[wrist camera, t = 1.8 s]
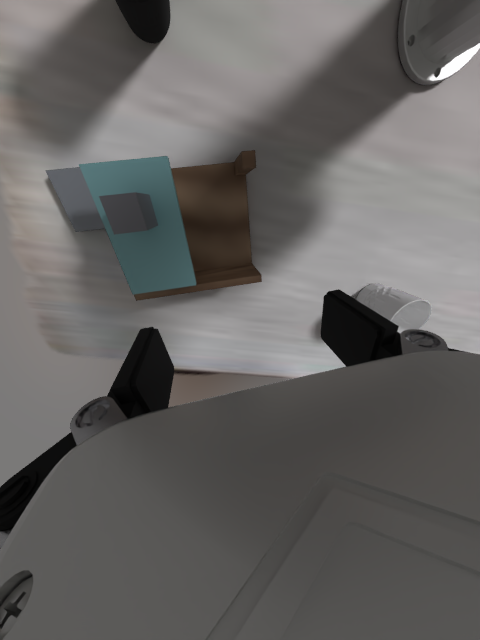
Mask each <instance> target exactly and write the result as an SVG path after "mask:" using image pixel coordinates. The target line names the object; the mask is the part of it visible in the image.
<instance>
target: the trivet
mask: <svg viewBox="0 0 480 640" xmlns="http://www.w3.org/2000/svg"><path fill="white" fill-rule="evenodd" d="M46 173H47V175H48V177H49V179H50V181H51V183H52V185H53V187H54V189H55V191H56V193H57V195H58V197H59V199H60V201H61V203H62V205H63V207H64V209H65V211H66V213H67V215H68V217H69V219H70V221H71V223H72V225H73V227H74V229H75V232H79V231H87V230H96V229H104V228H105V226H104V224H103V222H102V219H101V217H100V214H99V212H98V210H97V207H96V205H95V202H94V200H93V198H92V195H91V193H90V190H89V188H88V186H87V183H86V181H85V178H84V176H83V174H82V171H81V169H80V167H77V168H66V169H56V170H46Z"/></svg>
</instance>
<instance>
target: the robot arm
mask: <svg viewBox="0 0 480 640" xmlns="http://www.w3.org/2000/svg"><path fill="white" fill-rule="evenodd" d="M479 48H480V0H403V1H402V7H401V12H400V17H399V27H398V49H399V54H400V60H401V63H402V65H403V68H404V70H405V72H406V73H407V75H408V76H409V78H411V79H412V80H413V81H414V82H416V83H418V84H421V85H432V84H436V83H439V82H441V81H443V80H445V79H447V78H449V77H451V76H452V75H453V74H455V73H456V72H458V71H459V70H460V69H461V68H463V67H464V66H465V65H466V64H467V63H468V62H469V61H470V60H471V58H472V57H473V56H474V55H475V54H476V53H477V51H478V50H479ZM398 327H399V326H398V325H396V324H394V323H393V322H391V321H390V320H388V319H386V318H385V317H383V316H381V315H380V314H378V313H377V312H375V311H373V310H372V309H370V308H368V307H367V306H365V305H364V304H362V303H360V302H359V301H357V300H355V299H354V298H352V297H351V296H349V295H347V294H346V293H344V292H342V291H341V290H334V291H329V292H327V295H325V296H324V303H323V314H322V325H321V338H322V339H323V341H324V342H325V343H326V344H327V345H328V346H329V347H330V349H331V350H332V351H333V352H334V353H335V354H336V355H337V356H338V358H339V359H340V360H341V361H342V362H343V363H344V364H345V365H346V366H347V367H343V368H338V369H334V370H329V371H325V372H320V373H316V374H311V375H307V376H303V377H298V378H294V379H289V380H285V381H281V382H276V383H272V384H268V385H263V386H259V387H255V388H250V389H246V390H242V391H237V392H233V393H229V394H225V395H221V396H216V397H212V398H207V399H203V400H199V401H195V402H190V403H186V404H182V405H178V406H174V407H169V408H168V404H169V398H170V393H171V386H172V381H173V375H174V366H173V364H172V361H171V359H170V357H169V354H168V352H167V350H166V347H165V345H164V342H163V340H162V338H161V335H160V333H159V331H158V329H154V328H153V327H149V328H144V329H141V330H140V331H139V333H138V335H137V337H136V339H135V341H134V343H133V345H132V347H131V349H130V351H129V353H128V355H127V357H126V359H125V361H124V363H123V365H122V367H121V369H120V371H119V373H118V375H117V377H116V379H115V381H114V383H113V385H112V387H111V389H110V392H109V393H108V395H107V396H105V397H100V398H97V399H95V400H92V401H90V402H89V403H87V404H86V405H84V406H83V407H82V408H81V409H80V410H79V411H78V412H77V413H76V414H75V416H74V417H73V418H72V421H71V423H70V429H71V433H69V434H68V435H67V436H66V437H64V438H63V439H61V440H60V441H59V442H58V443H56V444H55V445H54V446H52V447H51V448H50V449H48V450H47V451H46V452H44V453H43V454H42V455H40V456H39V457H38V458H36V459H35V460H34V461H33V462H31V463H30V464H29V465H27V466H26V467H25V468H23V469H22V470H21V471H19V472H18V473H17V474H16V475H14V476H13V477H12V478H10V479H9V480H8V481H7V482H5V483H4V484H3V485H2V486H1V487H0V640H480V354H474V353H469V352H464V351H459V350H454V349H449V348H448V347H447V344H446V342H445V341H444V339H442V338H441V337H440V336H438V335H436V334H434V333H431V332H428V331H424V330H419V329H408V330H404V331H403V332H401V334H400V333H399V332H397V330H398Z"/></svg>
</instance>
